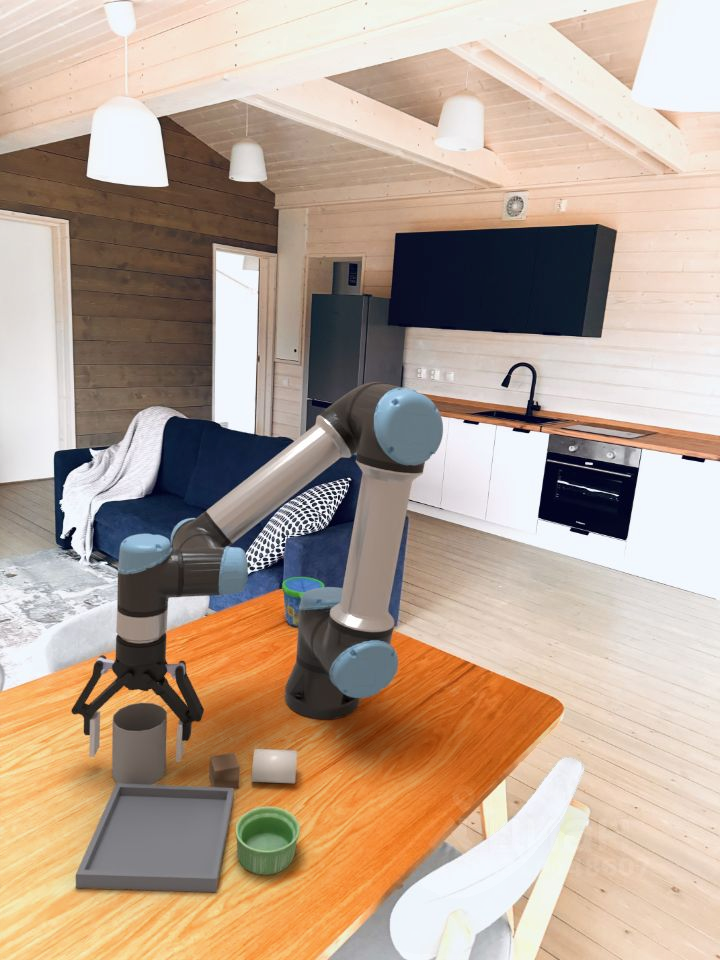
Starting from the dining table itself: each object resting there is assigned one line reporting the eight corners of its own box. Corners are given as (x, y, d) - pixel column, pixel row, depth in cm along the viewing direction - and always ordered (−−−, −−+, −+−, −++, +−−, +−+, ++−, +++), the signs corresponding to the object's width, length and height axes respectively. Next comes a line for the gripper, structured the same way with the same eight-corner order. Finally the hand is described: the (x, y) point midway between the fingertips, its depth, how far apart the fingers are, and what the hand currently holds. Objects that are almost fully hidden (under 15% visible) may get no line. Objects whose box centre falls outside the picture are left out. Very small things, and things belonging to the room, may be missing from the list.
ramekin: (243, 827, 103) (244, 802, 102) (302, 836, 102) (305, 811, 101) (225, 873, 94) (227, 846, 93) (290, 884, 93) (293, 856, 92)
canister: (295, 774, 110) (294, 789, 113) (297, 745, 114) (296, 759, 117) (251, 772, 110) (251, 787, 113) (255, 743, 113) (255, 758, 117)
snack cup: (322, 636, 167) (325, 597, 165) (278, 635, 166) (281, 595, 163) (320, 610, 182) (323, 574, 180) (280, 608, 181) (283, 572, 179)
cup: (149, 793, 108) (150, 736, 106) (101, 782, 109) (102, 725, 107) (174, 761, 116) (176, 707, 114) (129, 751, 118) (130, 698, 115)
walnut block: (233, 773, 114) (234, 752, 114) (238, 788, 111) (239, 766, 110) (209, 777, 113) (210, 756, 112) (213, 793, 109) (214, 771, 108)
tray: (233, 799, 108) (233, 788, 108) (216, 892, 91) (216, 878, 90) (116, 795, 107) (116, 783, 106) (75, 888, 89) (75, 874, 89)
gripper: (225, 628, 112) (218, 744, 117) (68, 617, 110) (66, 736, 115) (218, 649, 105) (211, 772, 109) (50, 638, 103) (49, 764, 107)
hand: (137, 754), depth 112 cm, fingers open, 13 cm apart
